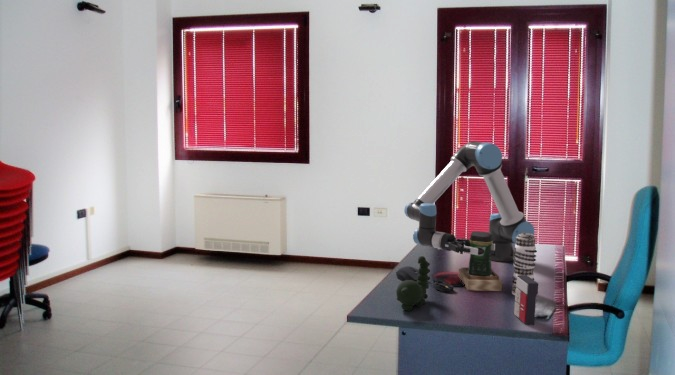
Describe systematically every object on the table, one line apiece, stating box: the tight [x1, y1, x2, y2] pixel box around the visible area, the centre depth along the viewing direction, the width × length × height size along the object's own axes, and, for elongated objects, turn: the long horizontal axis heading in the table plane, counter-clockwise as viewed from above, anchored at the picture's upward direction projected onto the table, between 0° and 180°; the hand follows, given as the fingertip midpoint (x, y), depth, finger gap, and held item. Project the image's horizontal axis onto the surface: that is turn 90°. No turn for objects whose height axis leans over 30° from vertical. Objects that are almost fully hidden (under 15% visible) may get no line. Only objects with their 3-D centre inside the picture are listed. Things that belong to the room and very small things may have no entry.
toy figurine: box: [396, 255, 431, 312], centre depth 241 cm, size 9×19×25 cm
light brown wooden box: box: [457, 267, 503, 292], centre depth 274 cm, size 14×20×5 cm
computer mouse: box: [395, 265, 455, 294], centre depth 273 cm, size 9×32×6 cm, turn 40°
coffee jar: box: [468, 230, 493, 276], centre depth 273 cm, size 10×8×19 cm
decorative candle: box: [511, 233, 538, 296], centre depth 259 cm, size 9×9×25 cm
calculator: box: [513, 275, 539, 326], centre depth 228 cm, size 11×4×15 cm, turn 5°
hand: (486, 249), depth 271 cm, fingers open, 13 cm apart
